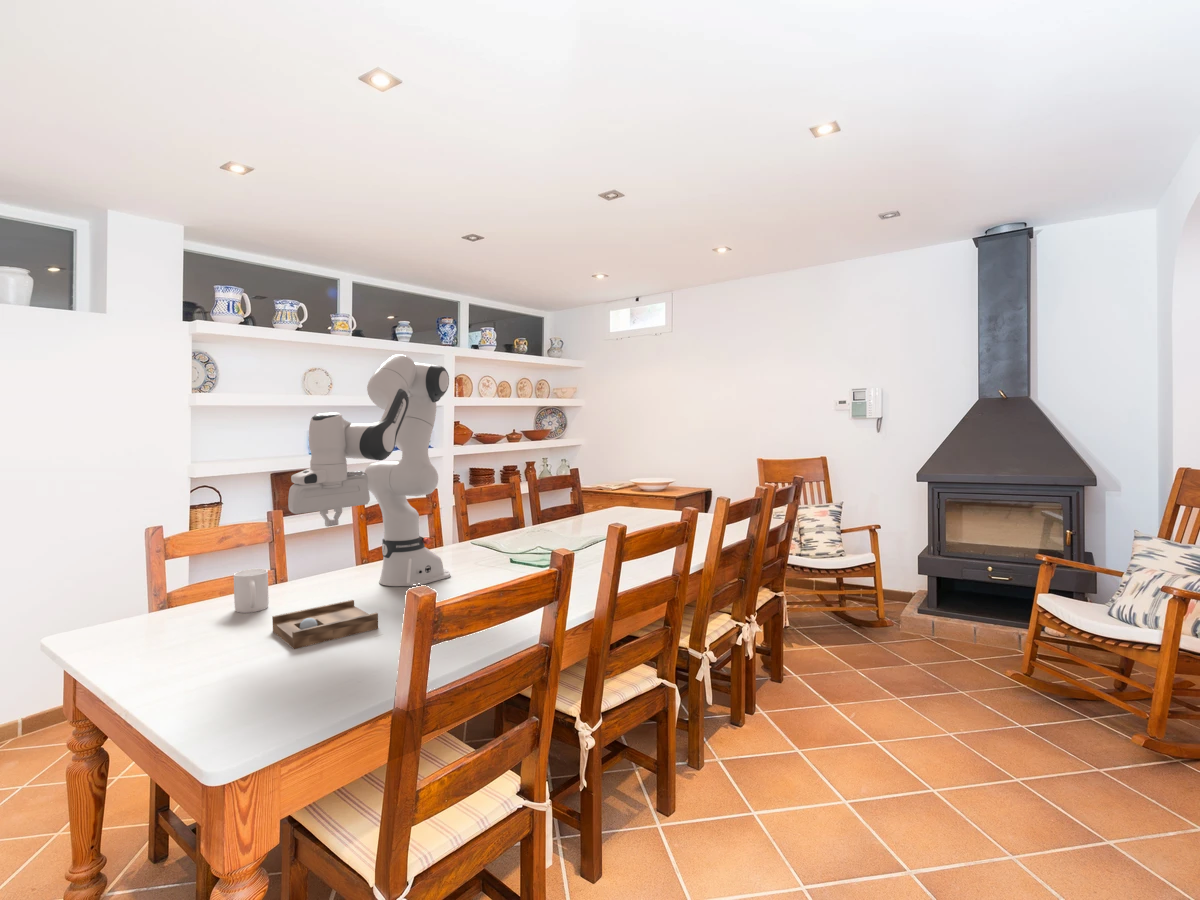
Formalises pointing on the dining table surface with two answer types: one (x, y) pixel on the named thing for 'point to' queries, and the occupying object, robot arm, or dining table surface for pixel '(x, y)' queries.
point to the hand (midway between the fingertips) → (331, 525)
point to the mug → (251, 590)
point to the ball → (308, 623)
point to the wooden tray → (323, 624)
